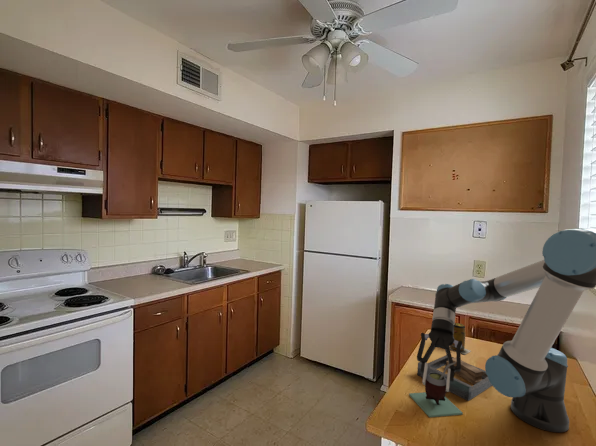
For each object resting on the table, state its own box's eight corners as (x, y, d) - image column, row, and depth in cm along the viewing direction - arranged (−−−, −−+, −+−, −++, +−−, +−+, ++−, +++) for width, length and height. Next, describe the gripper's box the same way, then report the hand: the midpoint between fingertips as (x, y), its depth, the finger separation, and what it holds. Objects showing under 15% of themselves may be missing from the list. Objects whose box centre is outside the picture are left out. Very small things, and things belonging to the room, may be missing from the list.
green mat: (462, 414, 103) (462, 412, 103) (429, 417, 100) (429, 415, 100) (439, 392, 115) (439, 391, 114) (409, 395, 112) (409, 393, 112)
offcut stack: (483, 384, 123) (484, 372, 122) (475, 386, 121) (476, 373, 121) (453, 366, 135) (454, 355, 135) (445, 368, 134) (446, 357, 133)
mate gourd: (421, 392, 111) (424, 350, 110) (445, 394, 110) (448, 352, 110) (428, 405, 104) (431, 360, 103) (453, 407, 103) (456, 362, 102)
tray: (496, 383, 123) (497, 370, 123) (468, 401, 110) (469, 387, 110) (446, 361, 139) (447, 350, 139) (417, 374, 126) (418, 362, 126)
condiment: (453, 344, 158) (455, 321, 157) (471, 351, 151) (473, 326, 151) (446, 348, 153) (448, 324, 153) (464, 355, 147) (466, 329, 146)
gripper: (472, 334, 115) (468, 400, 102) (416, 322, 125) (405, 381, 111) (473, 324, 110) (469, 392, 97) (414, 312, 120) (403, 373, 106)
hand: (435, 386), depth 104 cm, fingers closed on mate gourd, 6 cm apart
